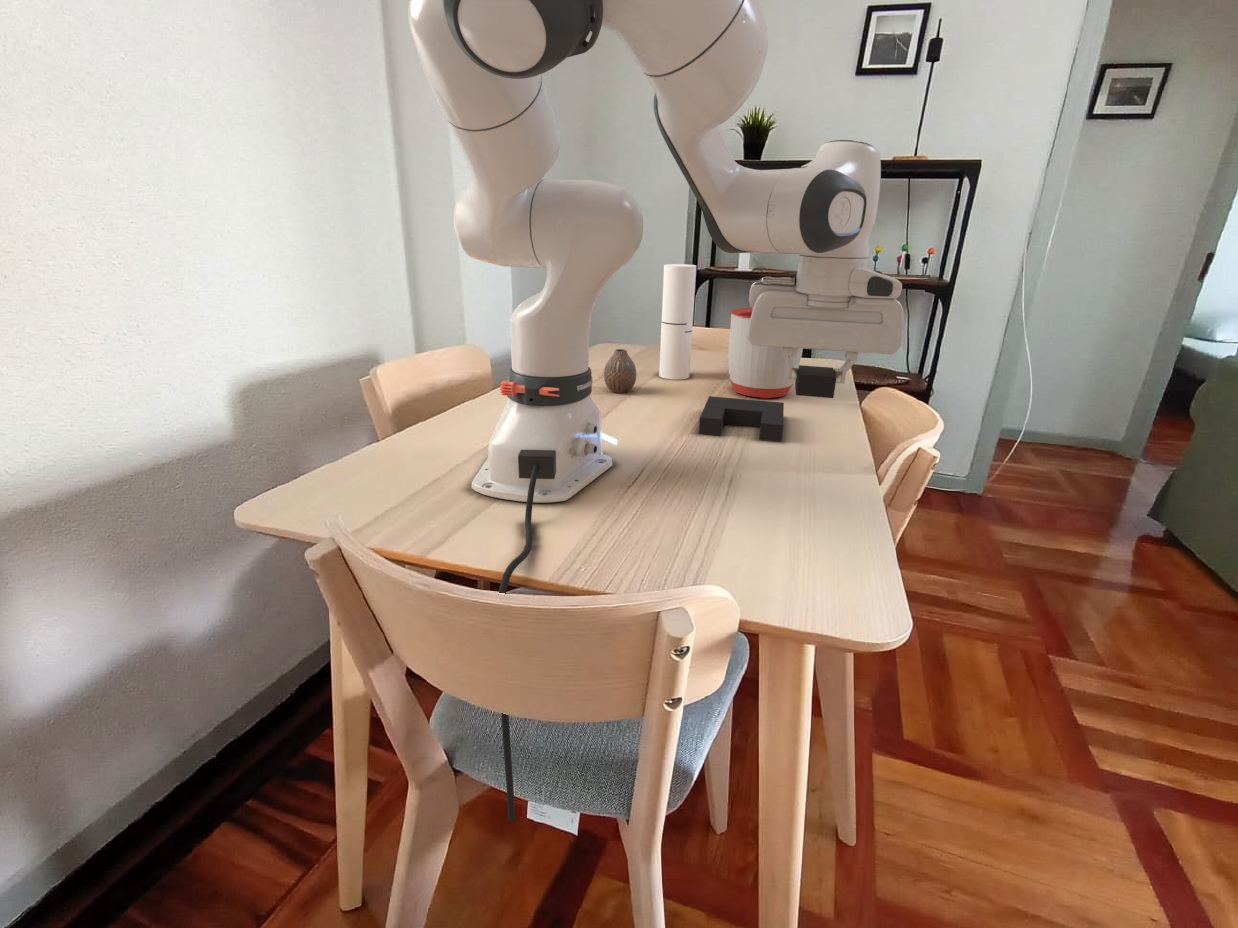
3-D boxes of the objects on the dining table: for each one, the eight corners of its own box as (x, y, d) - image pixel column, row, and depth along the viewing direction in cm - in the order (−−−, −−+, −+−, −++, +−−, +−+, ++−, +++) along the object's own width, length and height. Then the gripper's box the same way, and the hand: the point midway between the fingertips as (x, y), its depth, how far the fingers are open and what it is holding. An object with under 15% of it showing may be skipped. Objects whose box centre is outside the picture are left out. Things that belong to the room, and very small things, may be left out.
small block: (833, 398, 84) (836, 377, 83) (795, 395, 85) (798, 374, 84) (830, 387, 89) (833, 367, 88) (794, 384, 90) (797, 365, 89)
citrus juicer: (780, 408, 121) (793, 305, 113) (709, 391, 132) (716, 296, 124) (817, 394, 131) (831, 299, 124) (748, 379, 142) (757, 291, 135)
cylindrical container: (654, 373, 147) (659, 264, 137) (682, 371, 149) (688, 264, 139) (665, 380, 140) (671, 266, 131) (694, 378, 142) (701, 266, 133)
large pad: (781, 442, 103) (783, 425, 102) (698, 433, 106) (699, 417, 105) (781, 417, 115) (783, 402, 114) (707, 411, 119) (709, 396, 117)
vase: (637, 387, 134) (638, 347, 131) (634, 395, 128) (635, 354, 124) (605, 385, 135) (606, 346, 131) (602, 394, 128) (602, 352, 125)
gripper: (750, 277, 81) (739, 379, 86) (915, 285, 76) (894, 392, 82) (752, 274, 86) (742, 370, 92) (906, 280, 82) (887, 381, 87)
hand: (815, 380), depth 87 cm, fingers closed on small block, 5 cm apart
